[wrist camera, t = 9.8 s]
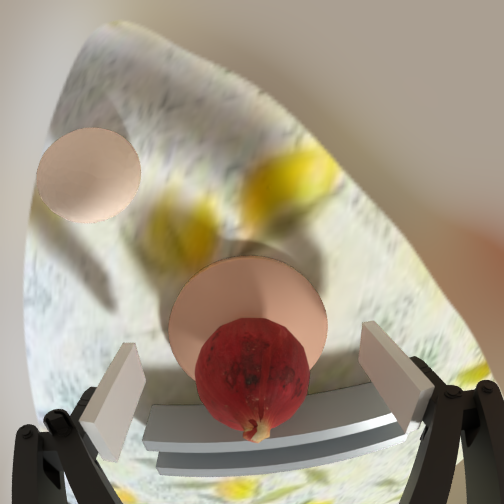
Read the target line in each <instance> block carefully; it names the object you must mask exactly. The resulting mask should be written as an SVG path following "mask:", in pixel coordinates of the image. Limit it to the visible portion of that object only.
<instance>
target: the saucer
mask: <svg viewBox="0 0 504 504" xmlns="http://www.w3.org/2000/svg"><path fill="white" fill-rule="evenodd" d="M239 318H266V319H269V320H271V321H273V322H275V323H278V324H280V325H282V326H285V327H286V328H287V329H288V330H289V331H290V332H291V333H292V334H293V335H294V337H295V338H296V339H297V340H298V341H299V342H300V343H301V345H302V346H303V347H304V350H305V353H306V357H307V360H308V364H309V369H310V370H311V368H312V367H313V366H314V365H315V363H316V362H317V360H318V358H319V357H320V355H321V353H322V351H323V348H324V346H325V342H326V338H327V330H328V324H327V315H326V310H325V308H324V305H323V302H322V300H321V298H320V296H319V295H318V293H317V292H316V290H315V289H314V288H313V286H312V285H311V284H310V282H309V281H308V280H307V279H306V278H305V277H304V276H303V275H302V274H301V273H300V272H298V271H297V270H296V269H294V268H293V267H291V266H289V265H287V264H285V263H283V262H281V261H278V260H275V259H272V258H267V257H262V256H253V255H252V256H237V257H230V258H227V259H223V260H220V261H218V262H215V263H213V264H210V265H209V266H207V267H205V268H204V269H202V270H200V271H199V272H198V273H197V274H195V275H194V276H193V277H192V278H191V279H190V280H189V281H188V282H187V283H186V284H185V286H184V287H183V289H182V290H181V291H180V293H179V295H178V297H177V299H176V301H175V303H174V306H173V308H172V311H171V314H170V319H169V331H168V334H169V341H170V345H171V349H172V352H173V354H174V356H175V358H176V360H177V362H178V363H179V365H180V366H181V368H182V369H183V370H184V371H185V372H186V374H187V375H189V376H190V377H191V378H192V379H193V380H194V381H196V380H195V374H194V373H195V364H196V362H197V359H198V356H199V353H200V350H201V347H202V346H203V345H204V343H205V342H206V340H207V339H208V338H209V337H210V336H211V335H212V334H213V333H214V332H215V331H216V330H217V329H218V327H219V326H222V325H224V324H227V323H229V322H232V321H234V320H237V319H239Z"/></svg>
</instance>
